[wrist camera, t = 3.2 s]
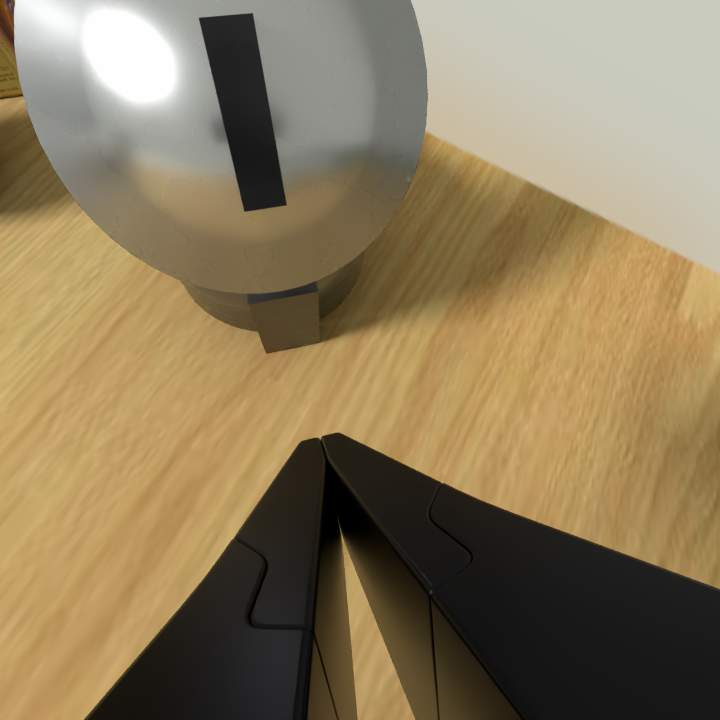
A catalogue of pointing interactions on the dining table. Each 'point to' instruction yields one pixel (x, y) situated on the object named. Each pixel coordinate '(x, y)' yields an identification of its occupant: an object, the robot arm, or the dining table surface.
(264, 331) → the pot
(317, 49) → the lid
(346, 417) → the dining table surface
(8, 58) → the candy box
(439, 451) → the dining table surface
